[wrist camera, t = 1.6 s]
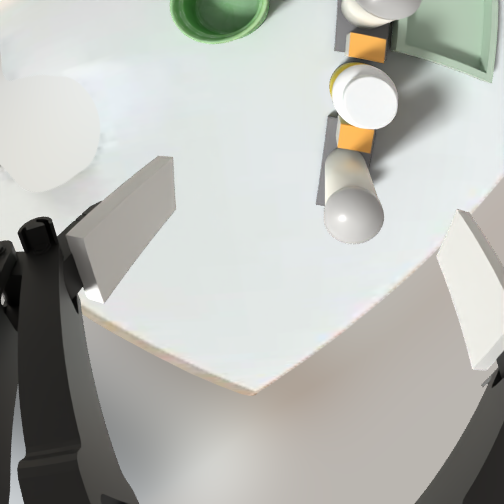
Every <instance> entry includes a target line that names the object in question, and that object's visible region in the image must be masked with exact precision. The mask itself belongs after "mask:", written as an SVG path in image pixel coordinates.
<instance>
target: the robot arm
mask: <svg viewBox="0 0 504 504" xmlns="http://www.w3.org/2000/svg"><path fill="white" fill-rule="evenodd" d="M175 210H176V203H175V186H174V166H173V157H165V156H158V157H156V158H155V159H154V160H152V161H151V162H150V163H148V164H147V165H146V166H145V167H143V168H142V169H141V170H139V171H138V172H137V173H136V174H134V175H133V176H132V177H131V178H129V179H128V180H127V181H126V182H124V183H123V184H122V185H121V186H120V187H118V188H117V189H116V190H115V191H114V192H112V193H111V194H110V195H109V196H108V197H106V198H105V199H104V200H103V201H100V202H98V203H96V204H94V205H92V206H90V207H89V208H88V209H87V210H86V211H85V212H83V213H82V215H80V216H79V217H78V218H77V219H76V221H73V222H72V223H71V224H70V225H69V226H68V227H67V228H66V229H65V230H64V231H63V232H62V233H61V234H59V235H58V236H57V235H56V232H55V229H54V226H53V222H52V219H51V218H49V217H38V218H35V219H32V220H30V221H28V222H27V223H25V224H24V225H23V226H22V227H21V228H20V229H19V231H18V236H19V238H20V241H21V244H22V246H23V249H24V251H25V252H16V251H15V249H14V246H13V244H12V242H11V241H1V242H0V504H9V495H10V462H11V461H10V460H11V439H12V425H13V416H14V407H15V399H16V392H17V386H18V384H19V399H20V409H21V418H22V426H23V434H24V441H25V446H26V456H25V458H24V459H22V460H21V461H20V462H19V464H18V468H17V471H18V480H19V484H20V489H21V492H22V497H23V501H24V504H139V502H138V500H137V498H136V496H135V494H134V492H133V490H132V488H131V487H130V485H129V484H128V482H127V481H126V479H125V478H124V476H123V474H122V472H121V470H120V467H119V464H118V461H117V458H116V455H115V453H114V450H113V447H112V444H111V441H110V437H109V434H108V431H107V428H106V424H105V421H104V417H103V414H102V410H101V407H100V403H99V399H98V395H97V391H96V387H95V382H94V378H93V374H92V369H91V364H90V360H89V354H88V349H87V343H86V337H85V331H84V325H83V319H82V311H81V303H80V299H79V296H78V294H77V293H78V292H79V291H80V289H81V288H82V287H83V288H84V290H85V293H86V296H87V298H88V299H91V300H94V301H97V302H100V303H103V304H104V303H105V302H106V300H107V299H108V298H109V296H110V295H111V293H112V292H113V291H114V289H115V288H116V286H117V285H118V284H119V282H120V281H121V280H122V278H123V277H124V275H125V274H126V273H127V271H128V270H129V269H130V267H131V266H132V265H133V263H134V262H135V261H136V259H137V258H138V257H139V255H140V254H141V253H142V251H143V250H144V249H145V248H146V246H147V245H148V244H149V242H150V241H151V240H152V239H153V237H154V236H155V235H156V234H157V232H158V231H159V230H160V228H161V227H162V226H163V225H164V223H165V222H166V221H167V220H168V219H169V217H170V216H171V215H172V214H173V212H174V211H175ZM436 257H437V260H438V262H439V265H440V268H441V270H442V273H443V275H444V278H445V281H446V283H447V286H448V289H449V292H450V295H451V297H452V301H453V303H454V306H455V309H456V313H457V315H458V319H459V322H460V325H461V329H462V332H463V335H464V339H465V343H466V347H467V350H468V354H469V358H470V362H471V367H472V370H487V369H488V368H489V367H490V366H491V365H492V364H493V363H494V362H495V361H496V360H497V364H498V368H497V370H495V372H494V373H493V374H492V375H491V376H490V377H489V378H488V379H487V380H486V381H485V382H484V383H483V384H482V387H484V386H485V385H486V384H488V383H489V384H488V386H487V388H486V390H485V392H484V394H483V396H482V399H481V401H480V403H479V405H478V407H477V409H476V411H475V413H474V415H473V416H472V418H471V420H470V422H469V424H468V425H467V427H466V429H465V431H464V433H463V434H462V436H461V438H460V440H459V441H458V443H457V445H456V446H455V448H454V449H453V451H452V452H451V454H450V456H449V457H448V459H447V460H446V462H445V463H444V465H443V466H442V468H441V469H440V471H439V472H438V474H437V475H436V476H435V478H434V479H433V481H432V482H431V483H430V485H429V486H428V487H427V489H426V490H425V491H424V493H423V494H422V495H421V496H420V498H419V499H418V500H417V502H416V503H415V504H504V267H503V265H502V263H501V261H500V260H499V258H498V256H497V255H496V253H495V251H494V249H493V248H492V246H491V245H490V243H489V241H488V240H487V238H486V237H485V235H484V234H483V232H482V231H481V229H480V227H479V226H478V225H477V223H476V222H475V220H474V219H473V217H472V216H471V214H470V213H469V212H465V211H462V210H459V209H457V210H456V212H455V215H454V217H453V220H452V222H451V224H450V227H449V229H448V232H447V234H446V236H445V238H444V241H443V243H442V245H441V247H440V250H439V252H438V254H437V256H436ZM2 295H3V297H4V299H5V302H4V305H2V304H1V296H2Z"/></svg>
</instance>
